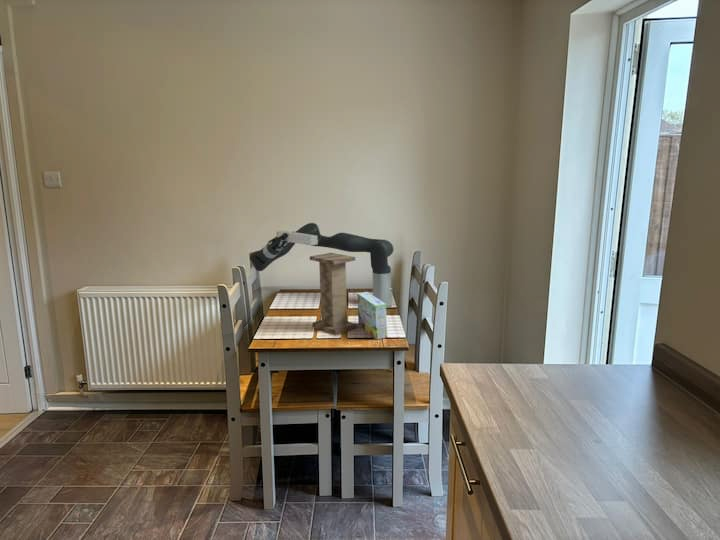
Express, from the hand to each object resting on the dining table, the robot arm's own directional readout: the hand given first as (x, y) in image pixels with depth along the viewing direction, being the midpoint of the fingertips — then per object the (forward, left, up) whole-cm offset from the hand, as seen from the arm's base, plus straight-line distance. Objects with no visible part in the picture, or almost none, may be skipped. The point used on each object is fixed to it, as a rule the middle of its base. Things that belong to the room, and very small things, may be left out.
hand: (290, 233), depth 226 cm
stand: (-19, +23, -39) cm, 49 cm away
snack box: (-35, +30, -40) cm, 61 cm away
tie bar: (-3, +4, -3) cm, 6 cm away
